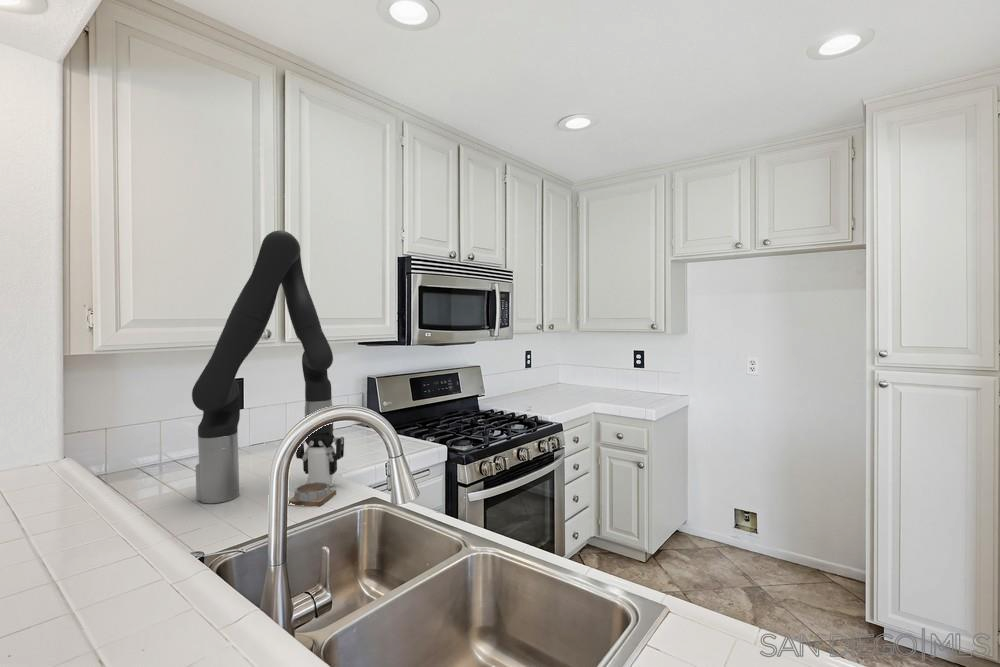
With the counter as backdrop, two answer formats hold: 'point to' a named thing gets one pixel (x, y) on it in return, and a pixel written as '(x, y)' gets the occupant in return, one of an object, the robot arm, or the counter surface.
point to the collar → (313, 495)
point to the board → (313, 503)
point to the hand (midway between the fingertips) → (320, 473)
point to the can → (319, 466)
